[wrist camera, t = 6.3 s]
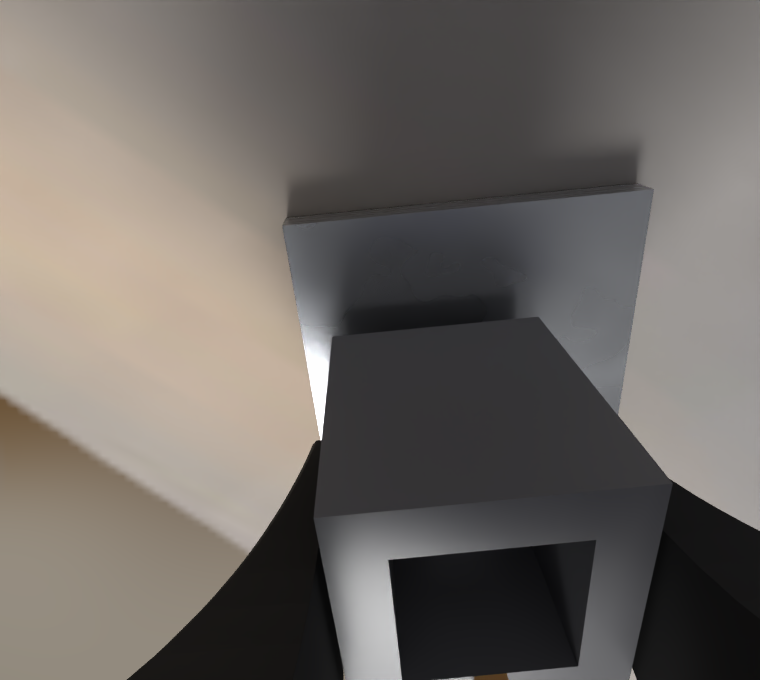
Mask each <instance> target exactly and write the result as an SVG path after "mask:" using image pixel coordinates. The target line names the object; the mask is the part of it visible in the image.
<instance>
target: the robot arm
mask: <svg viewBox="0 0 760 680" xmlns="http://www.w3.org/2000/svg"><path fill="white" fill-rule="evenodd" d="M320 450H321V440H318V441H316V442H315V443H314V444H313V445H312V448H311V450H310V453H309V455H308V457H307V459H306V461H305V463H304V466H303V468H302V470H301V472H300V473H299V475H298V477H297V479H296V481H295V483H294V485H293V486H292V488H291V490H290V492H289V494H288V495H287V497H286V499H285V501H284V502H283V504H282V506H281V507H280V509H279V511H278V512H277V514H276V515H275V517H274V518H273V520H272V521H271V523H270V524H269V526H268V527H267V529H266V531H265V532H264V534H263V535H262V537H261V538H260V539H259V541H258V542H257V544H256V545H255V546H254V548H253V549H252V550H251V552H250V553H249V555H248V556H247V557H246V558H245V560H244V561H243V562H242V564H241V565H240V566H239V568H238V569H237V570H236V571H235V572H234V574H233V575H232V576H231V577H230V578H229V579H228V581H227V582H226V583H225V584H224V585H223V587H222V588H221V589H220V590H219V591H218V592H217V593H216V595H215V596H214V597H213V598H212V599H211V600H210V601H209V602H208V604H207V605H206V606H205V607H204V608H203V609H202V610H201V611H200V612H199V613H198V614H197V615H196V616H195V617H194V618H193V619H192V620H191V621H190V622H189V623H188V624H187V625H186V626H185V627H184V628H183V629H182V630H181V631H180V632H179V633H178V634H177V635H176V636H175V637H174V638H173V639H172V640H171V641H170V642H169V643H168V644H167V645H166V646H165V647H164V648H163V649H162V650H160V651H159V652H158V653H157V654H156V655H155V656H154V657H153V658H152V659H150V660H149V661H148V662H147V663H146V664H145V665H144V666H142V667H141V668H140V669H139V670H138V671H137V672H135V673H134V674H133V675H132V676H131V677H129V678H128V679H127V680H343V663H342V658H341V653H340V648H339V643H338V638H337V633H336V628H335V623H334V618H333V613H332V608H331V603H330V598H329V593H328V588H327V583H326V578H325V573H324V568H323V563H322V558H321V553H320V548H319V543H318V538H317V533H316V528H315V523H314V509H315V499H316V489H317V480H318V470H319V460H320ZM669 480H670V479H669ZM670 481H671V482H672V483H673V485H672V489H671V494H670V498H669V503H668V507H667V512H666V516H665V521H664V525H663V530H662V534H661V539H660V543H659V548H658V552H657V557H656V561H655V566H654V570H653V575H652V579H651V584H650V588H649V593H648V597H647V602H646V606H645V611H644V615H643V620H642V624H641V629H640V633H639V638H638V642H637V647H636V651H635V656H634V660H633V665H632V668H633V670H634V673H635V676H636V678H637V680H760V531H758V530H756V529H754V528H753V527H751V526H749V525H747V524H745V523H743V522H741V521H739V520H738V519H736V518H734V517H732V516H730V515H728V514H727V513H725V512H723V511H721V510H719V509H718V508H716V507H714V506H712V505H711V504H709V503H707V502H705V501H704V500H702V499H700V498H699V497H697V496H695V495H694V494H692V493H691V492H689V491H688V490H686V489H684V488H683V487H681V486H680V485H678V484H677V483H675V482H673V481H672V480H670Z"/></svg>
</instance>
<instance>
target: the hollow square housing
mask: <svg viewBox="0 0 760 680" xmlns="http://www.w3.org/2000/svg"><path fill="white" fill-rule="evenodd" d="M672 485H673V483H672V482H671V481H670V480H669V478H668V477H667V476H666V475H665V473H664V472H663V471H662V470H661V468H660V467H659V466H658V465H657V463H656V462H655V461H654V460H653V458H652V457H651V456H650V455H649V453H648V452H647V451H646V450H645V448H644V447H643V446H642V445H641V443H640V442H639V441H638V440H637V438H636V437H635V436H634V435H633V434H632V432H631V431H630V430H629V429H628V427H627V426H626V425H625V424H624V422H623V421H622V420H621V419H620V417H619V416H618V415H617V414H616V412H615V411H614V410H613V409H612V407H611V406H610V405H609V404H608V402H607V401H606V400H605V399H604V397H603V396H602V395H601V394H600V392H599V391H598V390H597V389H596V388H595V386H594V385H593V384H592V383H591V381H590V380H589V379H588V378H587V376H586V375H585V374H584V373H583V371H582V370H581V369H580V368H579V366H578V365H577V364H576V363H575V361H574V360H573V359H572V358H571V356H570V355H569V354H568V353H567V351H566V350H565V349H564V348H563V346H562V345H561V344H560V343H559V342H558V340H557V339H556V338H555V337H554V335H553V334H552V333H551V332H550V330H549V329H548V328H547V327H546V325H545V324H544V323H543V322H542V320H541V319H540V318H539V317H529V318H519V319H509V320H499V321H488V322H478V323H468V324H458V325H447V326H437V327H427V328H416V329H406V330H396V331H386V332H375V333H365V334H355V335H344V336H334V337H332V342H331V352H330V362H329V372H328V381H327V391H326V401H325V411H324V421H323V430H322V440H321V450H320V460H319V470H318V480H317V489H316V499H315V509H314V523H315V528H316V533H317V538H318V543H319V548H320V553H321V558H322V563H323V568H324V573H325V578H326V583H327V588H328V593H329V598H330V603H331V608H332V613H333V618H334V623H335V628H336V633H337V638H338V643H339V648H340V653H341V658H342V663H343V668H344V673H345V678H346V680H629V678H630V674H631V669H632V665H633V660H634V656H635V651H636V647H637V642H638V638H639V633H640V629H641V624H642V620H643V615H644V611H645V606H646V602H647V597H648V593H649V588H650V584H651V579H652V575H653V570H654V566H655V561H656V557H657V552H658V548H659V543H660V539H661V534H662V530H663V525H664V521H665V516H666V512H667V507H668V503H669V498H670V494H671V489H672Z"/></svg>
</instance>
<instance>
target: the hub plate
mask: <svg viewBox="0 0 760 680" xmlns="http://www.w3.org/2000/svg"><path fill="white" fill-rule="evenodd" d="M653 190H654V189H652V188H649V187H646V186H643V185H641V184H638V183H634V184H624V185H614V186H604V187H594V188H584V189H574V190H563V191H553V192H543V193H533V194H523V195H513V196H503V197H492V198H482V199H472V200H462V201H452V202H442V203H432V204H422V205H411V206H401V207H391V208H381V209H371V210H361V211H351V212H340V213H330V214H320V215H310V216H300V217H290V218H286V220H285V222H284V224H283V232H284V238H285V243H286V249H287V254H288V260H289V265H290V271H291V277H292V282H293V288H294V293H295V299H296V305H297V310H298V316H299V321H300V327H301V332H302V338H303V344H304V349H305V355H306V360H307V366H308V372H309V377H310V383H311V388H312V394H313V399H314V405H315V411H316V416H317V422H318V427H319V433H320V439H321V440H322V430H323V421H324V411H325V401H326V391H327V381H328V372H329V362H330V352H331V342H332V337H334V336H344V335H355V334H365V333H375V332H386V331H396V330H406V329H416V328H427V327H437V326H447V325H458V324H468V323H478V322H488V321H499V320H509V319H519V318H529V317H539V318H540V319H541V320H542V322H543V323H544V324H545V325H546V327H547V328H548V329H549V330H550V332H551V333H552V334H553V335H554V337H555V338H556V339H557V340H558V342H559V343H560V344H561V345H562V346H563V348H564V349H565V350H566V351H567V353H568V354H569V355H570V356H571V358H572V359H573V360H574V361H575V363H576V364H577V365H578V366H579V368H580V369H581V370H582V371H583V373H584V374H585V375H586V376H587V378H588V379H589V380H590V381H591V383H592V384H593V385H594V386H595V388H596V389H597V390H598V391H599V392H600V394H601V395H602V396H603V397H604V399H605V400H606V401H607V402H608V404H609V405H610V406H611V407H612V409H613V410H614V411H615V412H616V414H617V415H618V411H619V405H620V399H621V392H622V386H623V380H624V373H625V367H626V361H627V354H628V348H629V342H630V335H631V329H632V323H633V317H634V310H635V304H636V298H637V291H638V285H639V279H640V272H641V266H642V260H643V254H644V247H645V241H646V235H647V228H648V222H649V216H650V209H651V203H652V197H653Z"/></svg>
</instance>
